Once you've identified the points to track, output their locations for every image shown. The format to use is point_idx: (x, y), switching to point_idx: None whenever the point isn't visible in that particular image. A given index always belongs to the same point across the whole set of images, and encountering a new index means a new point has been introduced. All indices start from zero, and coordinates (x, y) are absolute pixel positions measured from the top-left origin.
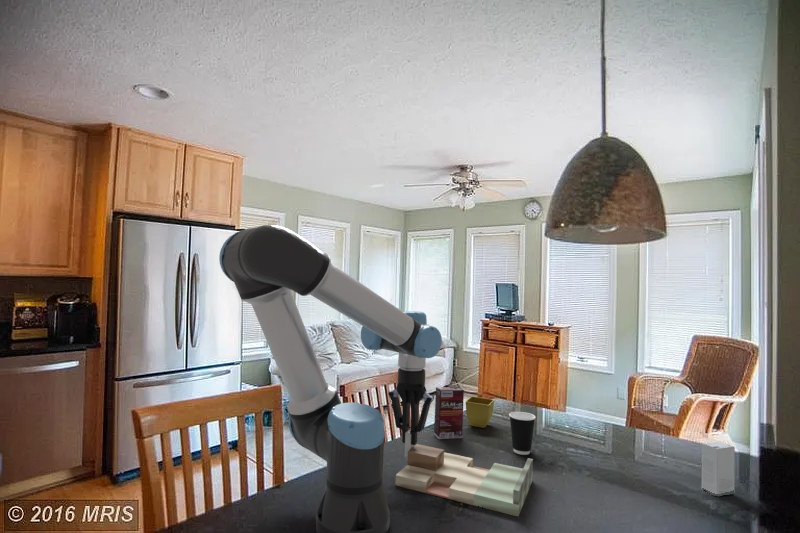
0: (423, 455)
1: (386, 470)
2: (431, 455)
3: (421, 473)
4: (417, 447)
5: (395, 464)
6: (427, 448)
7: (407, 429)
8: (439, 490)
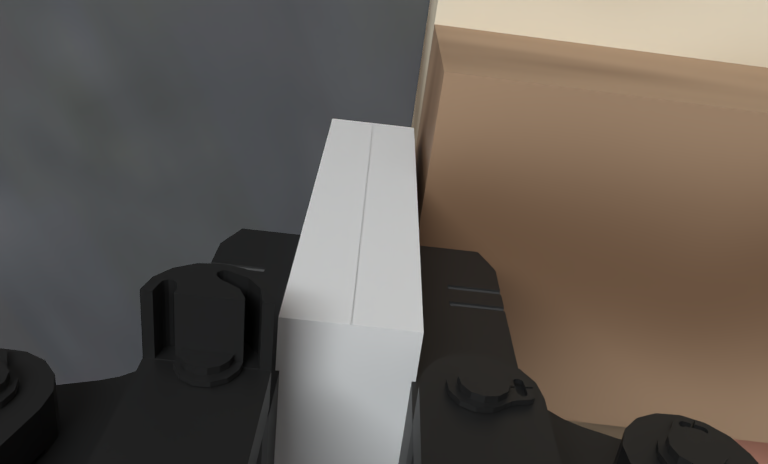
0: (632, 419)
1: (159, 231)
2: (753, 412)
3: (592, 426)
4: (493, 215)
5: (174, 48)
6: (671, 195)
7: (271, 457)
8: (752, 451)
